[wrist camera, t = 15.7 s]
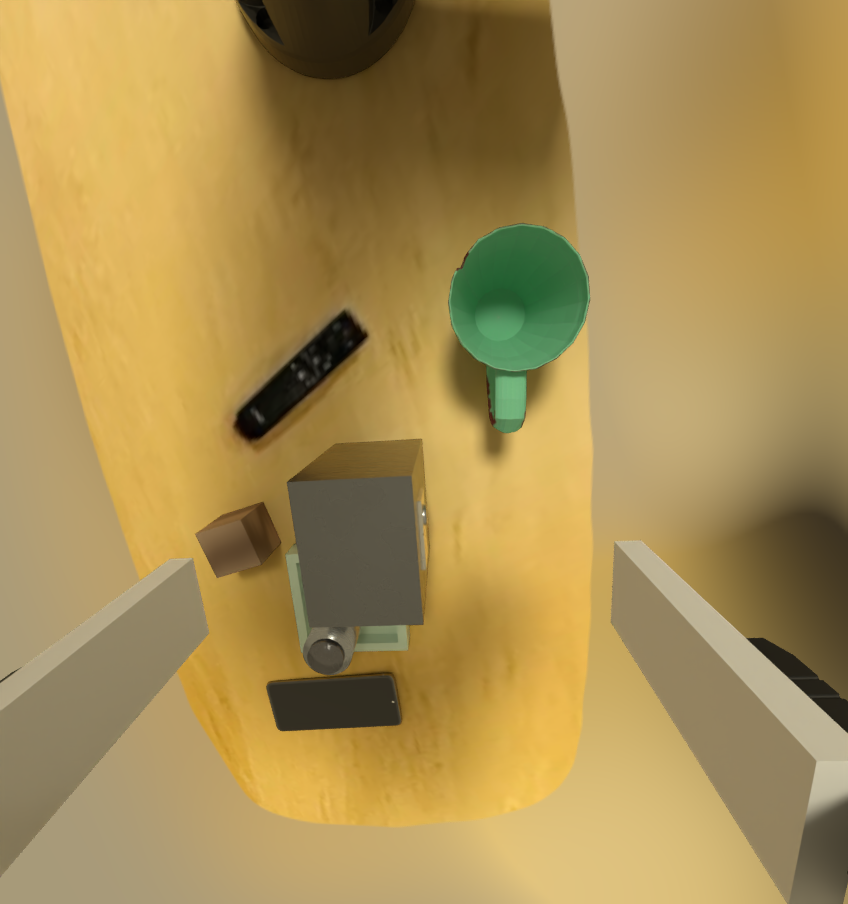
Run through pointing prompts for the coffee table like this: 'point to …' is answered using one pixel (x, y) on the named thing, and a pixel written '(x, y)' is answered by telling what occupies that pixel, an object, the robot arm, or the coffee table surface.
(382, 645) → the tray
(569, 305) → the mug
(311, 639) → the cartridge
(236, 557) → the walnut block
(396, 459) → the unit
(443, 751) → the coffee table surface
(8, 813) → the robot arm
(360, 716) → the smartphone
